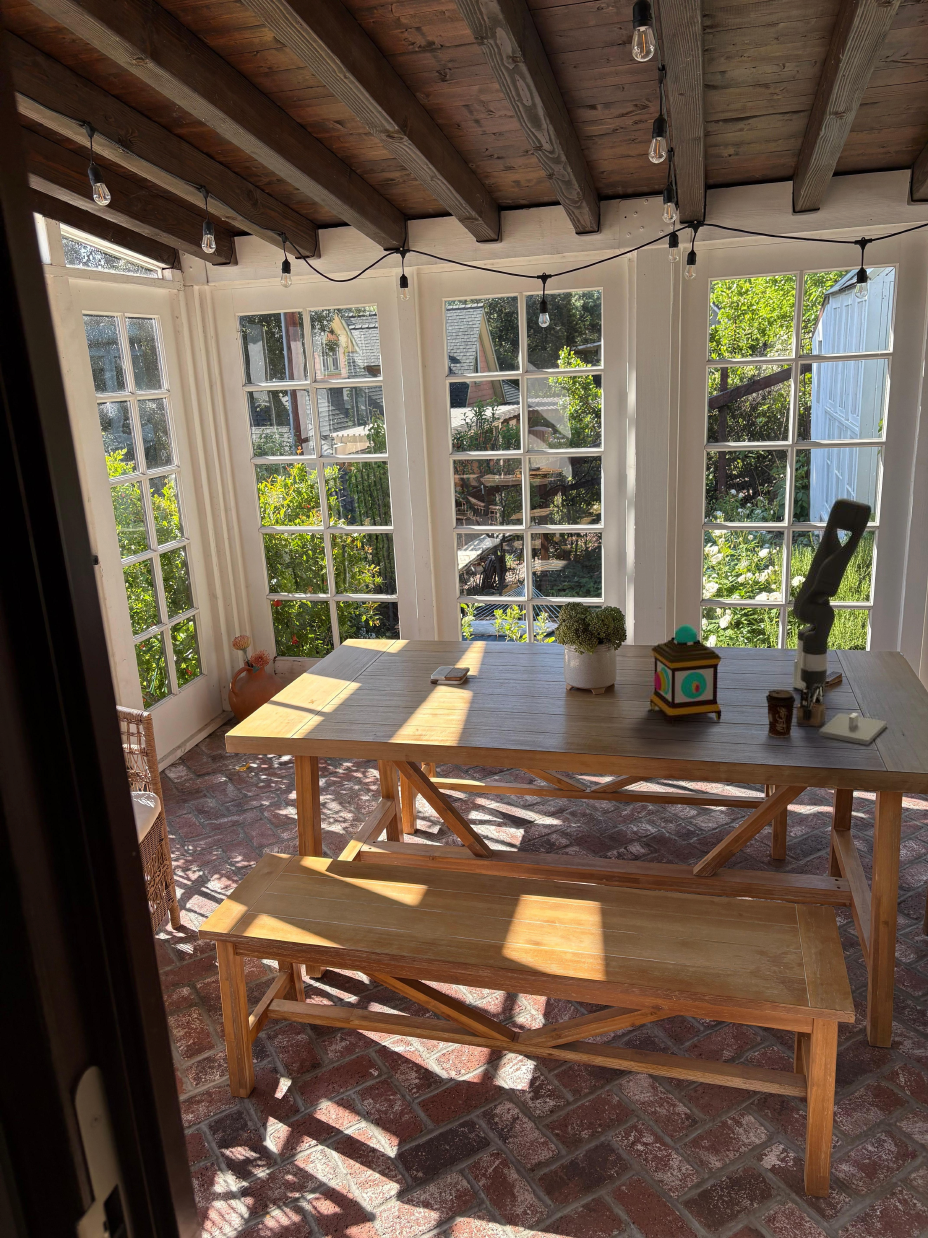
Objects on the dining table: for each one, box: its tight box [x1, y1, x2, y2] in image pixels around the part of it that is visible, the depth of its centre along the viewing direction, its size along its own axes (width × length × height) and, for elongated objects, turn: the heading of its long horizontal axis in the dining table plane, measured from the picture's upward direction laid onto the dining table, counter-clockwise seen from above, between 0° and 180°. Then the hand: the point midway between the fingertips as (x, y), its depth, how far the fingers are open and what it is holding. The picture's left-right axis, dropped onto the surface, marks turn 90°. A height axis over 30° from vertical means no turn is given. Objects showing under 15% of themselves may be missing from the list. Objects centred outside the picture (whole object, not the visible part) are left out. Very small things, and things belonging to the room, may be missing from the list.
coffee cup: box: [765, 689, 796, 739], centre depth 272 cm, size 9×8×13 cm
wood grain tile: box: [848, 712, 859, 728], centre depth 272 cm, size 1×4×4 cm, turn 140°
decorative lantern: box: [649, 624, 722, 726], centre depth 289 cm, size 20×20×30 cm
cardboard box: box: [796, 702, 826, 727], centre depth 281 cm, size 7×6×6 cm
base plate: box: [818, 712, 888, 746], centre depth 272 cm, size 14×18×2 cm
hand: (811, 716), depth 281 cm, fingers open, 8 cm apart
